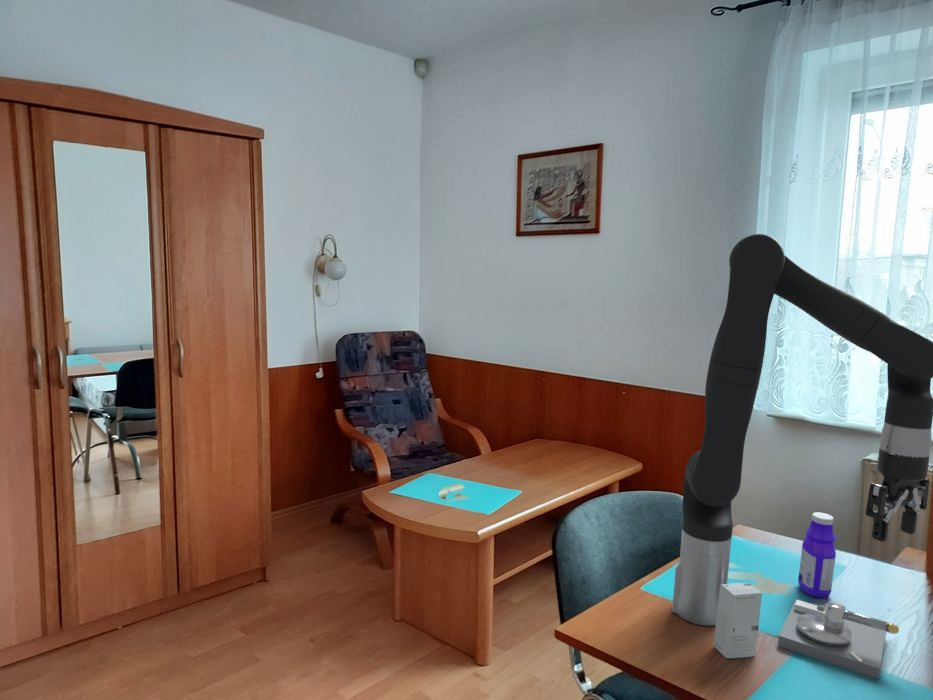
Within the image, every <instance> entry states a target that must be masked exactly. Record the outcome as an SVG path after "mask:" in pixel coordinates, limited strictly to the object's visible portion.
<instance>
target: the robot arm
mask: <svg viewBox="0 0 933 700" xmlns="http://www.w3.org/2000/svg"><path fill="white" fill-rule="evenodd" d="M728 262H729V263H728V264H729V281H728V293H727V300H726V307H725V311H724V314H723V316H722V320H721V323H720V325H719V328H718V331H717V333H716V336H715V339H714V343H713V345H712V346H713V347H712V351H711V354H710V359H709V363H708V368H707V374H706V380H705V389H704V391H705V393H704V394H705V395H704V414H705V416H704V417H705V418H704V419H705V420H704V421H705V422H704V423H705V424H704V433H703V438H702V443H701V446H700V450H698V451H696V452H695V453H693V454H692V455H691V456H690V458H689V459H688V461H687V463H686V465H685V469H684V479H683V480H684V481H683V492H682V493H683V494H682V496H683V497H682V505H681V506H682V507H681V508H682V510H681V511H682V528H681V538H680V539H681V540H680V541H681V542H680V551H679V553H680V554H679V563H678V564H677V565H676V567H675V572H674V583H673V584H674V585H673V596H672V604H671V605H672V606H671V607H672V608H671V612H672V613H674V614H676V615H677V616H679V617H680V618H682V619H683V620H685V621H687V622H689V623H692V624H695V625H698V626H707V627H708V626H709V627H713V626H716V620H717V610H718V601H719V591H720V585H721V584H728V577H729V568H730V558H731V547H732V538H733V528H734V525H733V523H734V522H733V518H732V501H733V500H734V499H735V498H736V496H737V495H738V494H739V491H740V488H741V484H742V474H743V473H742V472H743V471H742V470H743V461H744V460H743V458H744V451H745V450H744V449H745V442H746V436H747V432H748V429H749V425H750V422H751V418H752V413H753V410H754V405H755V401H756V396H757V394H758V389H759V385H760V381H761V380H760V379H761V376H762V375H761V374H762V370H763V365H764V358H765V357H764V356H765V351H766V345H767V331H768V319H769V315H770V309H771V306H772V302H773V298H774V295H776V296H777V297H780V298H782V299H783V300H785V301H787V302H789V303H791V305H793V306H795V307H796V308H798V309H799V310H801V311H803V312H805V313H806V314H807V315H809V316H810V317H812V318H813V319H814V320H816V321H817V322H819V323H820V324H822V325H823V326H825V327H826V328H827V329H829V330H831V331H832V332H834V333H835V334H837V335H838V336H840V337H842V338H844V339H845V340H847V342H850V343H852V345H855V346H856V347H858V348H860V349H862V350H865V351H867V352H869V353H870V354H873V355H874V356H875V357H877V358H878V359H880V360H881V361H883V362H884V363H885V364H887V368H886V369H887V370H886V371H887V374H886V375H887V400H886V403H885V404H886V405H885V414H884V422H883V426H882V429H881V434H880V441H879V450H878V457H877V458H878V459H877V466H876V469H877V471H878V472H879V473H880V474H881V475H882V476H883V478H882V482H881V484H878V483H874V482H871V483H870V485H869V488H868V489H869V490H868V495H867V502H866V508H865V516H867V517H869V518H870V517H871V518H873V526H872V535H871V537H872V538H873V540H877V542H878V541H879V542H881V543H883V542H886V541H887V540H888V533H889V532H888V531H889V526H890V525H889V524H890V522H889V521H890V519H891V517H892V515H893V514H894V513H897V512H898V510H899V508H900V507H902V509H903V511H902V515H901V521H900V523H901V524H900V531H901V532H903V533H905V534H909V535H914V534H916V528H917V521H918V516H919V515H920V514H921V511H922V510H924V511H925V510H926V509H928V498H929V490H930V489H929V487H930V478H928V477H927V476H928V471H929V463H930V462H929V461H930V457H931V456H930V455H931V448H932V427H933V395H932V393H931V384H932V383H931V382H932V379H933V341H932V340H930V339H928V338H926V336H923V335H921V334H919V333H917V332H915V331H914V330H912V329H909V328H908V327H905V326H904V325H902V324H900V323H898V322H897V321H895V320H893V319H891V318H890V317H889V316H888V315H886V314H885V313H884V312H882V311H880V310H879V309H877V308H875V307H874V306H872V305H870V304H869V303H867V302H866V301H863V300H861V299H860V298H858V297H856V296H855V295H852V294H850V293H849V292H847V291H845V290H842V289H841V288H838V287H837V286H835V285H832V284H830V283H828V282H826V281H824V280H822V279H820V278H819V277H817V276H815V275H814V274H812V273H810V272H808V271H807V270H805V269H803V268H802V267H801V266H799V264H797V263H795V262H794V261H793V260H792V259H790V258H789V257H788V256H787V255H786V254H785V251H784V249H783V247H782V245H781V244H780V242H779V241H778V240H777V239H775V238H774V237H773V236H771V235H768V234H764V233H755V234H750V235H748V236H746V237H743V238H742V239H740V240H739V241H738V242H737V243H735V245H734V247H733V248H732V249H731V252H730V254H729V260H728Z"/></svg>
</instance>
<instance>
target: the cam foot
mask: <svg viewBox="0 0 933 700" xmlns="http://www.w3.org/2000/svg"><path fill="white" fill-rule="evenodd" d="M824 608H825V616H823V615H818V614H804V615H801V616H799V617H798V618H797V629H798V631H799V632H800V633H801V634H802V635H804V636H805V637H807V638H809V639H810V640H813V641H815V642H818V643H821V644H824V645H829V646H845V645H848V644H849V643H850V642H851V635H852V633H851V630H850V629H849V628H848V627H847V626H846V625H844V619H846V620H849V621H853V622H856V623H860V624H863V625H866V626H870V627H873V628H876V629H880V630H883V631H886V633H888V634H893V635H897V634H898V633H899V632H900V628H899V626H898V625H897V624H895V623H892V622H888V621H884V620H882V619H881V620H880V619H878V618H874V617H870V616H867V615H864V614H860V613H858V612H854V611H851V610H846V609H847V607H846V606H845V605H843V604H842V603H840V602H836V601H827V602H826V603H825V607H824Z"/></svg>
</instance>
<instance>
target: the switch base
mask: <svg viewBox="0 0 933 700" xmlns="http://www.w3.org/2000/svg"><path fill="white" fill-rule="evenodd" d="M825 608H826V607H825V606H824V605H822V604H819V605H818V604H814V603H812V602H811V603H809V602H806V601H804V600H800V599H796V601H794V603H793V605H792V607H791V609H790V610H789V611H790V612H789V613H788V616H787V618H786V620H785V622H784V624H783V626H782V629H781V630H780V632H779V635H778V639H777V640H778V642H777V646H778V647H780V648H784V649H787V650H790V651H792V652H795V653H799V654H801V655H805V656H808V657H811V658H814V659H816V660H819V661H823V662H826V663H829V664H831V665H834V666H837V667H840V668H843V669H846V670H850V671H852V672H855V673H859V674H861V675H865V676H867V677H870V678H873V679H876V680H879V677H880V671H881V667H882V660H883V654H884V648H885V643H886V642H885V641H886V635H887V632H886V631H883V630H880V629H876V628H873V627H870V626H866V625H863V624H860V623H856V622H853V621H849V620H846V619H844V625H846V626H847V627H848V628H849V629H850V630H851V633H852V635H851V642H850V643H849V644H848V645H845V646H829V645H824V644H821V643H818V642H815V641H813V640H810V639H809V638H807V637H805V636H804V635H802V634H801V633H800V632H799V631H798V629H797V618H798V617H799V616H801V615H804V614H818V615H823V616H825Z"/></svg>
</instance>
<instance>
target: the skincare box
mask: <svg viewBox="0 0 933 700" xmlns="http://www.w3.org/2000/svg"><path fill="white" fill-rule="evenodd" d="M762 596H763V593H762V592H761V590H759V589H757V588H756V587H755V586H753V585H752V584H750V583H749V582H731V583H727V584H721V585H720V591H719V601H718V610H717V620H716V625H715V632H714V641H713V642H714V643H713V647H715V649H716V650H717V651H718V652H719V653H720V654H721V655H722V656H723V657H724V658H725V659H739V658H741V659H743V658H752V657H756V655H757V654H756V653H757V645H758V644H757V643H758V636H759V634H758V633H759V627H760V626H759V623H760V617H761V616H760V614H761V605H762V598H763V597H762Z"/></svg>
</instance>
